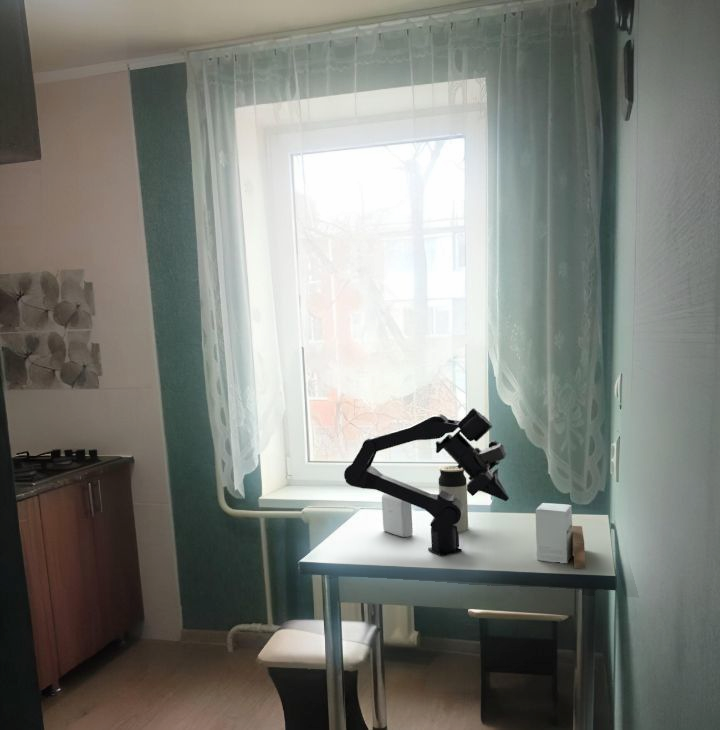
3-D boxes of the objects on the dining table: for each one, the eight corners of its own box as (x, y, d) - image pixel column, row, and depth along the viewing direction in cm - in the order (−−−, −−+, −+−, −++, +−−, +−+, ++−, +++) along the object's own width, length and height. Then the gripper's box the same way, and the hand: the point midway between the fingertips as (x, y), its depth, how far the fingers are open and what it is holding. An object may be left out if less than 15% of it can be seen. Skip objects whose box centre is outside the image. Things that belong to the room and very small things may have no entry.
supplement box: (567, 564, 147) (565, 511, 146) (536, 560, 150) (534, 508, 150) (574, 555, 153) (572, 504, 153) (543, 551, 157) (541, 501, 157)
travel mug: (473, 528, 180) (471, 466, 179) (458, 535, 174) (455, 471, 173) (450, 524, 185) (448, 464, 185) (435, 530, 179) (432, 468, 179)
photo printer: (381, 531, 181) (379, 489, 181) (392, 528, 184) (390, 486, 183) (403, 538, 173) (401, 494, 172) (415, 535, 175) (413, 492, 175)
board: (574, 568, 144) (573, 542, 144) (572, 549, 157) (572, 525, 157) (585, 568, 143) (584, 543, 143) (582, 549, 157) (582, 526, 157)
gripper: (480, 441, 147) (528, 490, 144) (491, 425, 164) (534, 469, 162) (447, 471, 151) (493, 519, 148) (462, 452, 168) (503, 495, 165)
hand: (507, 499), depth 156 cm, fingers closed
